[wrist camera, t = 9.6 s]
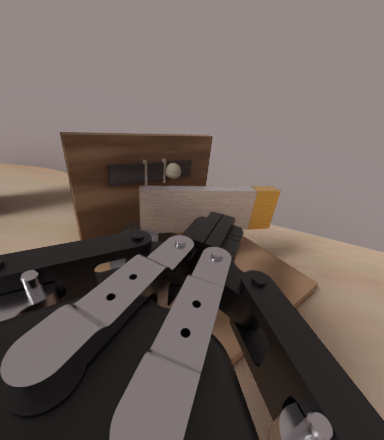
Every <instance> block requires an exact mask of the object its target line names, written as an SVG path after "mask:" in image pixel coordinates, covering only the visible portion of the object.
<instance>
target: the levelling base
mask: <svg viewBox="0 0 384 440" xmlns="http://www.w3.org/2000/svg"><path fill="white" fill-rule="evenodd" d="M60 135H61V141H62V146H63V151H64V157H65V162H66V167H67V173H68V178H69V183H70V188H71V194H72V199H73V204H74V209H75V215H76V220H77V225H78V230H79V236H80V241H81V240H86V239H92V238H97V237H103V236H108V235H113V234H119V233H121V231H122V228H123V227H124V226H126V225H127V224H130V223H133V222H140V202H139V186H206V180H207V172H208V166H209V158H210V151H211V144H212V136H209V135H185V134H184V135H183V134H182V135H181V134H132V133H131V134H129V133H79V132H78V133H77V132H60ZM172 233H175V234H177V235H181V234H182V233H183V232H172ZM234 263H235V265H236V266H237V267H238V268H239V269H240V270H242V271H243V272H246V271H249V270H257V271H260V272H263V273H265V274H267V275H268V276H269V277H271V278H272V280H273V281H274V282H275V283H276V285H277V286H278V287H279V288H280V290H281V291H282V292H283V293H284V295H285V296H286V297H287V298H288V300H289V301H290V302H291V304H292V305H293V306H294V307H295V308H296V307H298V306H299V305H300V304H301V303H302V302H303V301H304V300H305V299H307V298H308V297H309V296H310V295H311V294H312V293H313V292H314V290H315V288H316V287H317V285H318V283H316V282H315V281H313V280H312V279H310V278H308V277H307V276H305V275H304V274H302V273H301V272H299V271H297V270H296V269H294V268H293V267H291V266H289V265H288V264H286V263H285V262H283V261H282V260H280V259H278V258H277V257H275V256H274V255H272V254H271V253H269V252H267V251H266V250H264V249H263V248H261V247H260V246H258V245H256V244H255V243H253V242H252V241H250V240H248V239H247V238H245V237H244V236H242V239H241V243H240V247H239V250H238V254H237V256H236V259H235V262H234ZM107 270H110V262H107V263H103V264H100V265H98V266H97V267H96V268H95V270H94V271H96V272H103V271H107ZM229 318H230V317H228V316H227V315H226V314H225V313H223V312H222V311H221V310H220V309H218V313H217V317H216V320H215V324H214V328H213V332H212V334H213V335H214V336H215V337H216V338H217V339H218V340H219V341H220V342H221V343H222V345H223V346H224V348H225V349H226V351H227V353H228V355H229V357H230V359H231V362H232V364H234V363H235V362H236V361H238V360H239V359H240V358H241V357H242V356H243V355H244V354H243V352H242V350H241V348H240V345H239V343H238V341H237V339H236V337H235V334H234V332H233V330H232V328H231V325H230V322H229Z"/></svg>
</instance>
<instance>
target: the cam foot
mask: <svg viewBox="0 0 384 440" xmlns="http://www.w3.org/2000/svg"><path fill="white" fill-rule="evenodd" d="M279 195H280V190H278V189H277V188H275V187H269V186H268V187H267V186H252V187H222V186H218V187H217V186H139V202H140V222H133V223H130V224H127V225H126V226H124V227H123V228H122V231H121V233H124V232H130V231H136V230H141V231H146V232H148V233H149V234H150V235H151V236H152V241H155V242H165V241H166V240H167V239H169V238H170V237H172V236H176V235H177V234H175V233H172V232H184V231H185V230H186V229H187V228H188V227H189V225H190V224H191V223H192V222H193V221H194V220H195V219H196V218H198V217H201V216H203V217H207V216H208V215H209V214H210V213H211V211H214V212H217V213H221V214H223V215H228V216H232V217H235V223H234V226H238V227H241V228H242V229H266V228H269V226H270V223H271V219H272V216H273V213H274V210H275V207H276V204H277V201H278V198H279ZM124 264H125V258H124V259H119V260H115V261H111V262H110V270H111V269H115V268H119V267H122V266H123V265H124Z"/></svg>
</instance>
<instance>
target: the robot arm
mask: <svg viewBox="0 0 384 440" xmlns="http://www.w3.org/2000/svg"><path fill="white" fill-rule="evenodd" d="M234 223H235V217H232V216H228V215H223V214H221V213H217V212H214V211H211V213H210V214H209V215H208V216H207V217H203V216H201V217H198V218H196V219H195V220H194V221H193V222H192V223H191V224H190V225H189V227H188V228H187V229H186V230H185V231H184V232H183V233H182V234H181V235H176V236H172V237H170V238H169V239H167V240H166V241H165V242H155V241H152V236H151V235H150V234H149V233H148V232H146V231H141V230H136V231H130V232H124V233H119V234H113V235H108V236H103V237H97V238H92V239H86V240H81V241H75V242H70V243H64V244H59V245H53V246H48V247H42V248H37V249H31V250H26V251H20V252H15V253H9V254H4V255H0V440H259V437H258V434H257V432H256V429H255V426H254V423H253V420H252V418H251V415H250V412H249V409H248V406H247V404H246V401H245V398H244V395H243V392H242V390H241V387H240V384H239V381H238V378H237V376H236V373H235V370H234V367H233V364H232V362H231V359H230V357H229V355H228V353H227V351H226V349H225V348H224V346H223V345H222V343H221V342H220V341H219V340H218V339H217V338H216V337H215V336H214V335H213V334H212V332H213V328H214V324H215V320H216V317H217V313H218V309H220V310H221V311H222V312H223V313H225V314H226V315H227V316H228V317H230V318H229V322H230V325H231V328H232V330H233V332H234V334H235V337H236V339H237V341H238V343H239V345H240V348H241V350H242V352H243V354H244V357H245V359H246V361H247V363H248V365H249V368H250V370H251V372H252V374H253V377H254V379H255V381H256V383H257V386H258V388H259V390H260V392H261V394H262V397H263V399H264V401H265V403H266V406H267V408H268V410H269V412H270V414H271V417H272V419H273V421H274V422H273V424H272V425H271V427H270V429H269V433H268V440H384V420H383V419H382V418H381V417H380V415H379V414H378V413H377V411H376V410H375V409H374V408H373V406H372V405H371V404H370V403H369V401H368V400H367V399H366V397H365V396H364V395H363V394H362V392H361V391H360V390H359V389H358V387H357V386H356V385H355V384H354V382H353V381H352V380H351V378H350V377H349V376H348V375H347V373H346V372H345V371H344V370H343V368H342V367H341V366H340V364H339V363H338V362H337V361H336V359H335V358H334V357H333V356H332V354H331V353H330V352H329V351H328V349H327V348H326V347H325V345H324V344H323V343H322V342H321V340H320V339H319V338H318V337H317V335H316V334H315V333H314V331H313V330H312V329H311V328H310V326H309V325H308V324H307V323H306V321H305V320H304V319H303V318H302V316H301V315H300V314H299V312H298V311H297V310H296V309H295V307H294V306H293V305H292V304H291V302H290V301H289V300H288V298H287V297H286V296H285V295H284V293H283V292H282V291H281V290H280V288H279V287H278V286H277V285H276V283H275V282H274V281H273V280H272V278H271V277H269V276H268V275H267V274H265V273H263V272H260V271H257V270H249V271H246V272H243V271H242V270H240V269H239V268H238V267H237V266H236V265H235V263H234V262H235V259H236V256H237V254H238V250H239V247H240V243H241V239H242V235H243V231H242V228H241V227H238V226H234ZM124 258H125V264H124V265H123V266H122V267H119V268H115V269H111V270H107V271H103V272H96V271H94V270H95V268H96V267H97V266H98V265H100V264H103V263H107V262H111V261H115V260H119V259H124Z"/></svg>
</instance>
